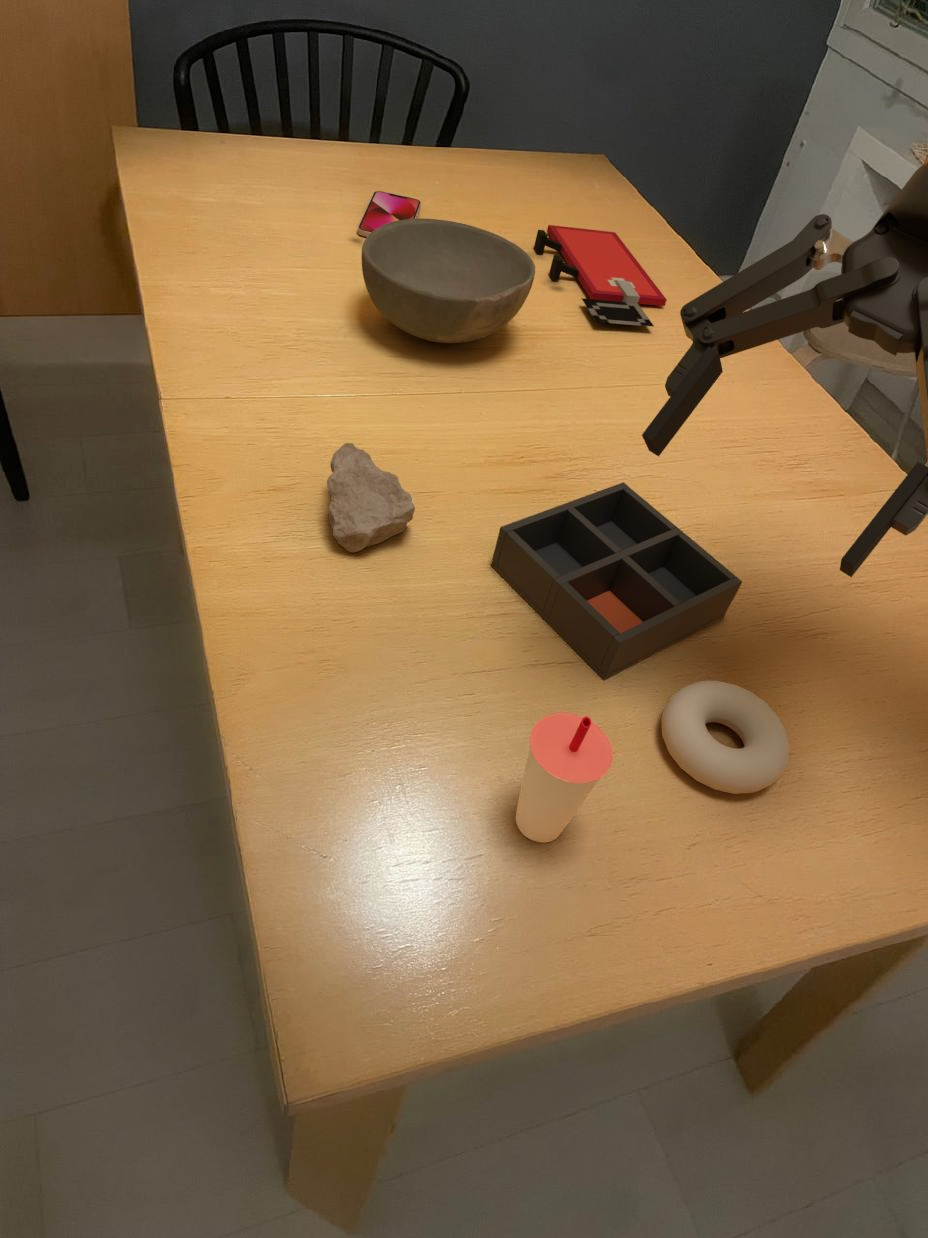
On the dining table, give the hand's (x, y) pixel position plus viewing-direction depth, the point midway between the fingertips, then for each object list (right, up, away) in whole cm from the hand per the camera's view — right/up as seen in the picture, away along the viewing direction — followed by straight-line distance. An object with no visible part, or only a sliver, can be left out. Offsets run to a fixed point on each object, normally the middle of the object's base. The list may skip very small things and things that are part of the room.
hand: (742, 504), depth 51 cm
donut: (+3, -17, +18) cm, 25 cm away
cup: (-11, -21, +10) cm, 26 cm away
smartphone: (-27, +52, +77) cm, 97 cm away
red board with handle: (+3, +42, +75) cm, 86 cm away
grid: (-3, -4, +28) cm, 29 cm away
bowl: (-20, +29, +57) cm, 67 cm away
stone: (-26, +2, +30) cm, 39 cm away
